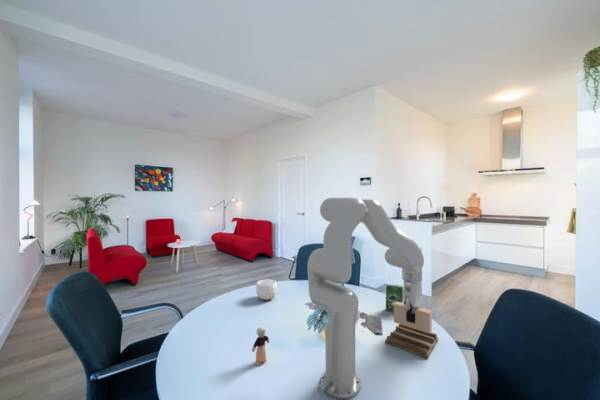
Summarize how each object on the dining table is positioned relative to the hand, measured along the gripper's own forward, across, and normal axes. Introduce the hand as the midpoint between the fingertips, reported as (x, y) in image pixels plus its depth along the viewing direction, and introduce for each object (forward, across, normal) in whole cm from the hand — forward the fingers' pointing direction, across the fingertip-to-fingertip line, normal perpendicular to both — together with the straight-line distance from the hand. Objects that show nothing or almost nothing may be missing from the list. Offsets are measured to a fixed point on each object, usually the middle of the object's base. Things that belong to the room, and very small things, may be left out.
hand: (412, 319), depth 105 cm
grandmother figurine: (+8, -48, +38) cm, 62 cm away
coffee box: (+9, +23, +16) cm, 29 cm away
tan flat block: (+3, 0, 0) cm, 3 cm away
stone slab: (+10, +2, +20) cm, 22 cm away
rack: (+9, 0, 0) cm, 9 cm away
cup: (+9, -9, +79) cm, 80 cm away
